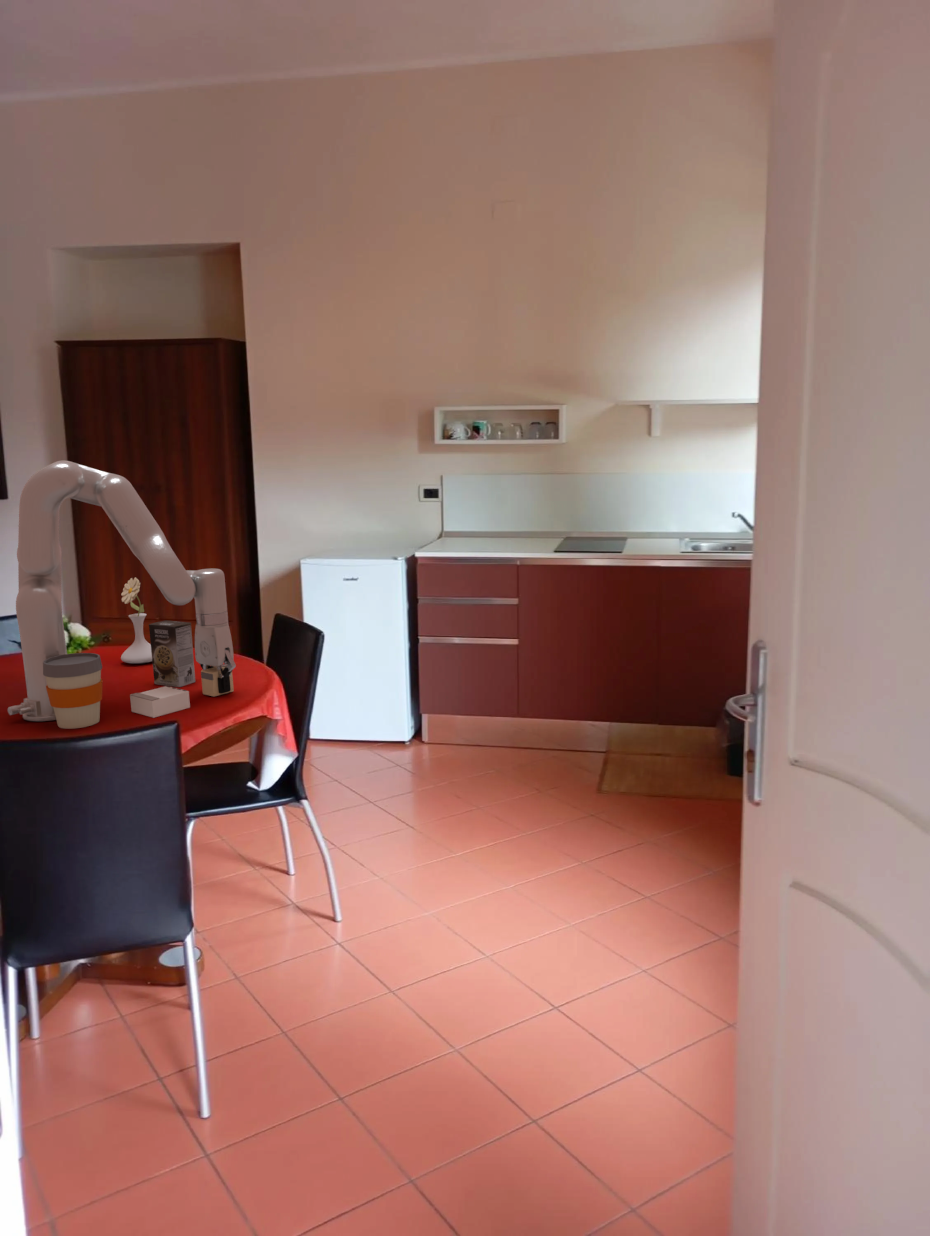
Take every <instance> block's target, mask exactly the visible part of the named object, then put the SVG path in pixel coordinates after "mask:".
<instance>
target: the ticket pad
mask: <svg viewBox="0 0 930 1236" xmlns="http://www.w3.org/2000/svg"><path fill="white" fill-rule="evenodd" d="M129 698H130V708H131V709H130V710H131V712H132V713H136V714H139V715H143V716H146V717H149V718H153V719H154V718H157V717H160V716H161V717H162V716H165V715H168V714H172V713H175V712H179V711H183V710H185V709H190V708H191V703H190V701H191V700H190V691H189V690H187V689H181V688H178V687H174V686H166V685H163V686H161V687H158V688H154V689H153V688H152V689H150V690H146V691H142V692H134V693H131V694H129Z"/></svg>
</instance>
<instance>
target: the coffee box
mask: <svg viewBox="0 0 930 1236" xmlns="http://www.w3.org/2000/svg"><path fill="white" fill-rule="evenodd" d="M148 629H149V639H150V644H151V652H152V671H153V683H154V685H159V686H160V685H161V686H170V687H174V688H181V687H185V686H187V685H191V684H193V683H196V672H195V670H196V669H195V660H194V657H195V656H194V646H193V636H192V635H193V633H192V622H186V621H177V620H161V621H157V622H152V623H149V624H148Z"/></svg>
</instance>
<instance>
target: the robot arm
mask: <svg viewBox="0 0 930 1236" xmlns="http://www.w3.org/2000/svg"><path fill="white" fill-rule="evenodd" d="M66 499H71V500H76V501H80V502H83V503H86V504H90V505H95V506H98V507H101V508H102V509H103V511H104V512H105V514H106V516H108V518H109V520H110V521H111V523H112V524H113V526H114V528H116V530H117V531H118V533H119V534H120V536H121V538H122V539H123V540H124V542H125V543H126V545H127V546H128V548H129V549H130V551H131V553H132V554H133V555H134V556H135V557H136V558H137V559H138V560H139V562H140V563H141V564H142V565H143V567H144V569H145V570H146V572H147V574H149V576H150V578H151V579H152V580H153V582H154V584H155V585H156V586H157V588H158V589H159V590H160V592H161V594H162V595H163V597H164V598H165V600H166V601H168V603H170V604H172V605H174V606H185V605H186V604H187V605H188V603H190V602H191V601H192V600H193V599H194V606H195V619H196V624H195V627H194V628H195V629H194V657H195V661H196V662H197V663H198V664H199V665H200V668H201V669H202V670H205V669H209V668H213V667H217V669H218V674H219V678H218V688H219V693H221V694H222V693H225V692H229V691H230V690H231V688H230V676H231V672H232V673H233V670H234V669H235V668H236V666H237V664H236V663H235V660H234V647H233V641H232V639H233V638H232V635H231V630H230V626H229V615H228V603H227V590H226V582H225V581H226V579H225V573H224V571H223V570H222V569H220V568H214V567H213V568H211V567H210V568H202V569H197V570H191V569H189V570H188V569H187V570H186V568H185V567H184V565H183V564H182V562H181V561H180V559H179V558H178V556H177V555H176V553H175V551H174V550H173V549H172V546H171V545H170V543H169V541H168V540H167V538H166V536H165V533H164V532H163V530H162V529H161V527H160V525H159V524H158V522H157V520H155V518H154V517H153V515H152V513H151V512H150V510H149V509H148V507H147V505H145V503H144V501H143V499H142V498H141V497H140V495H139V494H138V492H137V490H136V489H135V487H134V486H133V485H132V483H131V482H130V481H129V480H128V479H127V478H126V477H124V476H122V475H119V474H116V473H111V472H107V471H104V470H99V469H97V468H93V467H90V466H87V465H83V464H79V463H77V462H73V461H70V460H62V459H61V460H57V461H53V463H50V464H47V465H46V466H44V467H42V468H40V469H39V470H37V471H36V472H34V473H33V474H32V475H31V476H30V477H29V478H28V480H27V481H26V483H25V484H24V486H23V488H22V491H21V494H20V498H19V504H18V505H19V507H18V508H19V509H18V510H19V511H18V533H17V534H18V541H17V543H18V544H17V549H16V559H17V563H18V572H17V573H18V578H17V579H18V593H17V596H16V600H15V612H16V613H15V614H16V619H17V624H18V625H17V626H18V631H19V638H20V645H21V652H22V660H23V662H22V663H23V669H24V677H25V687H26V694H27V697H25V698H23V702H21V703H20V704H17V705H12V706H8V708H7V713H8V715H9V716H13V715H17V714H19V715H22V719H23V720H25V721H28V722H49V721H51V722H52V721H57V720H56V716H55V712H54V708H53V707H52V706H51V705H50V701H49V697H48V693H47V689H46V686H47V682H46V678H45V676H44V675H43V661H44V660H46V659H48V658H51V657H55V656H59V655H65V654H68V650H67V644H66V643H67V642H66V636H65V626H64V618H63V607H62V565H63V564H62V554H63V552H62V546H61V544H60V532H59V531H60V509H61V506H62V504H63V502H64V501H65V500H66ZM222 667H225V668H224V670H222ZM229 693H230V692H229ZM225 694H226V693H225ZM222 695H223V694H222Z"/></svg>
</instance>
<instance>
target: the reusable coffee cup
mask: <svg viewBox="0 0 930 1236" xmlns="http://www.w3.org/2000/svg"><path fill="white" fill-rule="evenodd" d="M102 670H103V664H102V660H101V655H100V654H98V653H93V652H77V653H67V654H65V655H59V656H55V657H51V658H48V659H46V660H44V661H43V675H44V676H45V678H46V682H47V686H46V689H47V693H48V697H49V701H50V705H51V706H52V707H53V708H54V712H55V716H56V720H55V721H56V724H57V726H58V727H59V728H60V729H69V730H70V729H72V730H73V729H80V728H87V727H89V726H94V725H96V724H98V723H99V722H100V719H101V718H100V715H101V714H100V713H101V701H102V700H103V679H102V678H101V677H102Z"/></svg>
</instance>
